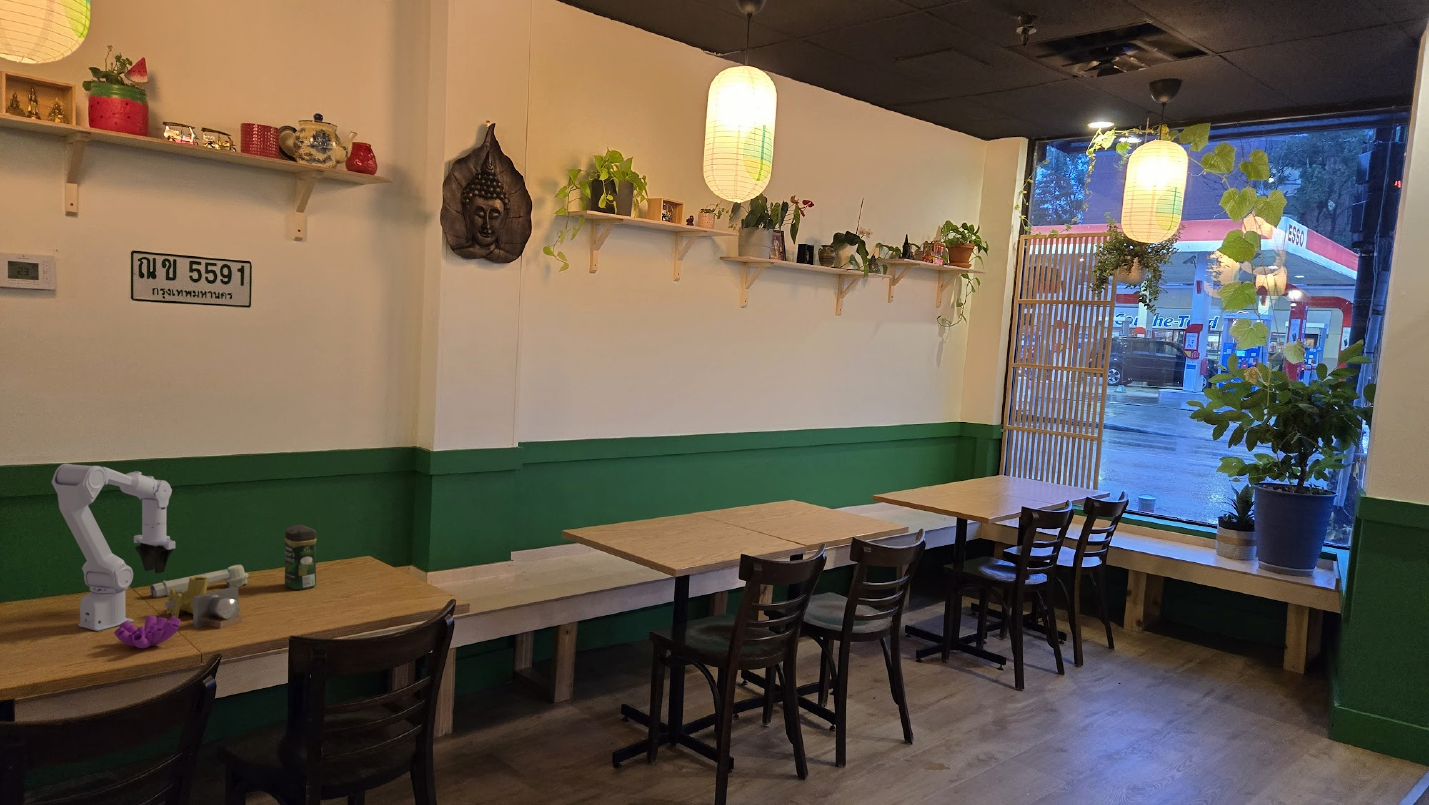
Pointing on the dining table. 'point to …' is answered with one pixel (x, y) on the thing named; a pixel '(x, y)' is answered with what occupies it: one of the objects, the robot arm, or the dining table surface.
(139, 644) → the purple tube coral
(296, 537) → the coffee jar
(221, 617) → the fitting
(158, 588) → the grey piece
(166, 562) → the robot arm
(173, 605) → the ball valve
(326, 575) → the dining table surface
